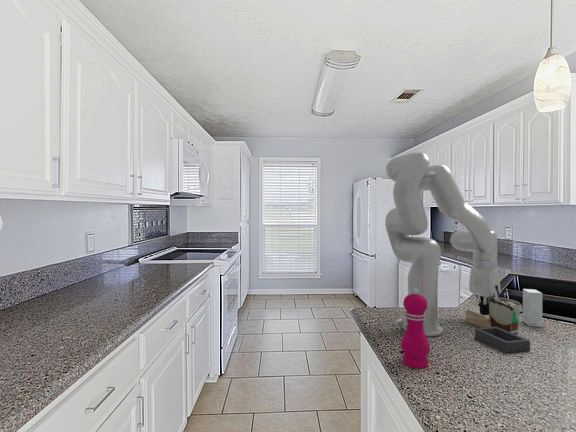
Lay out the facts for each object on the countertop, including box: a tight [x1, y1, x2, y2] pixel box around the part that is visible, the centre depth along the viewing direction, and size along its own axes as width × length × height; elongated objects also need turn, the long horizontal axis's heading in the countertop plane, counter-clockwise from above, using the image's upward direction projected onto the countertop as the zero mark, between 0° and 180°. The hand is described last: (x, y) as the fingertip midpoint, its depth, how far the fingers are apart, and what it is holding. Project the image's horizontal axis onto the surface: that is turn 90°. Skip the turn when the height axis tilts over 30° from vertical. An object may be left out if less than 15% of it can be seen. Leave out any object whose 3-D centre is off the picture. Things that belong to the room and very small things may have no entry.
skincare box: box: [522, 288, 543, 328], centre depth 120 cm, size 6×4×12 cm
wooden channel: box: [465, 309, 491, 328], centre depth 120 cm, size 11×10×4 cm
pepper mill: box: [400, 288, 431, 370], centre depth 89 cm, size 7×7×20 cm
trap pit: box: [474, 326, 531, 354], centre depth 102 cm, size 8×12×3 cm, turn 12°
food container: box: [488, 296, 523, 335], centre depth 114 cm, size 12×6×10 cm, turn 7°
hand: (485, 314), depth 123 cm, fingers closed
